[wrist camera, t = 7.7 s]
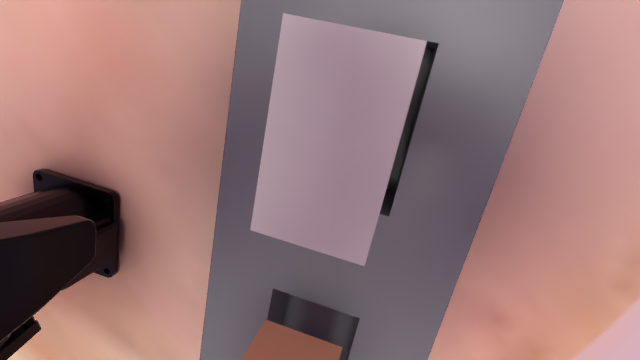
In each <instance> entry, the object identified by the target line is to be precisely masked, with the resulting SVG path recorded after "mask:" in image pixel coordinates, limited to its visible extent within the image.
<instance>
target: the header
mask: <svg viewBox="0 0 640 360" xmlns="http://www.w3.org/2000/svg"><path fill="white" fill-rule="evenodd" d="M563 1H564V0H241V8H240V16H239V25H238V33H237V42H236V51H235V59H234V68H233V77H232V85H231V94H230V102H229V111H228V120H227V128H226V137H225V146H224V154H223V163H222V171H221V180H220V189H219V197H218V206H217V215H216V223H215V232H214V240H213V249H212V258H211V266H210V275H209V284H208V292H207V301H206V309H205V318H204V327H203V335H202V344H201V353H200V360H241V358H242V357H243V355H244V354H245V352H246V350H247V349H248V347H249V346H250V344H251V342H252V341H253V339H254V338H255V336H256V334H257V333H258V331H259V330H260V328H261V326H262V325H263V323H264V322H265V320H269V321H271V322H274V323H277V324H280V325H282V326H285V327H288V328H291V329H293V330H296V331H299V332H302V333H304V334H307V335H310V336H313V337H315V338H318V339H321V340H324V341H327V342H329V343H332V344H335V345H338V346H340V347H342V351H341V354H340V358H339V360H427V359H428V357H429V354H430V351H431V349H432V346H433V343H434V341H435V338H436V335H437V333H438V330H439V328H440V325H441V322H442V320H443V317H444V314H445V312H446V309H447V307H448V304H449V301H450V299H451V296H452V293H453V291H454V288H455V285H456V283H457V280H458V278H459V275H460V272H461V270H462V267H463V264H464V262H465V259H466V257H467V254H468V251H469V249H470V246H471V243H472V241H473V238H474V235H475V233H476V230H477V228H478V225H479V222H480V220H481V217H482V214H483V212H484V209H485V207H486V204H487V201H488V199H489V196H490V193H491V191H492V188H493V185H494V183H495V180H496V178H497V175H498V172H499V170H500V167H501V164H502V162H503V159H504V156H505V154H506V151H507V149H508V146H509V143H510V141H511V138H512V135H513V133H514V130H515V128H516V125H517V122H518V120H519V117H520V114H521V112H522V109H523V106H524V104H525V101H526V99H527V96H528V93H529V91H530V88H531V85H532V83H533V80H534V78H535V75H536V72H537V70H538V67H539V64H540V62H541V59H542V56H543V54H544V51H545V49H546V46H547V43H548V41H549V38H550V35H551V33H552V30H553V28H554V25H555V22H556V20H557V17H558V14H559V12H560V9H561V6H562V4H563ZM283 13H285V14H291V15H296V16H301V17H306V18H311V19H316V20H321V21H327V22H332V23H337V24H342V25H347V26H352V27H357V28H363V29H368V30H373V31H378V32H383V33H388V34H393V35H399V36H404V37H409V38H414V39H419V40H424V41H427V43H426V48H425V52H424V56H423V60H422V64H421V67H420V71H419V74H418V78H417V82H416V85H415V89H414V92H413V96H412V100H411V103H410V107H409V110H408V114H407V118H406V121H405V125H404V128H403V132H402V136H401V139H400V143H399V146H398V150H397V154H396V157H395V161H394V164H393V168H392V172H391V175H390V179H389V182H388V186H387V189H386V193H385V196H384V200H383V203H382V207H381V210H380V214H379V217H378V221H377V224H376V228H375V231H374V235H373V238H372V242H371V245H370V249H369V252H368V256H367V259H366V263H365V266H362V265H359V264H355V263H352V262H349V261H346V260H343V259H340V258H336V257H333V256H330V255H327V254H324V253H321V252H318V251H314V250H311V249H308V248H305V247H302V246H299V245H295V244H292V243H289V242H286V241H283V240H280V239H276V238H273V237H270V236H267V235H264V234H261V233H258V232H254V231H251V230H250V228H251V222H252V215H253V208H254V202H255V195H256V189H257V182H258V176H259V169H260V162H261V156H262V149H263V143H264V136H265V129H266V123H267V116H268V110H269V103H270V96H271V90H272V83H273V77H274V70H275V64H276V57H277V50H278V44H279V37H280V31H281V24H282V17H283Z"/></svg>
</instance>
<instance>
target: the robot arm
mask: <svg viewBox="0 0 640 360" xmlns="http://www.w3.org/2000/svg"><path fill="white" fill-rule="evenodd" d="M33 183H34V192H33V193H30V194H27V195H23V196H20V197H17V198H14V199H10V200H7V201H4V202H1V203H0V360H7V359H8V358H9V357H11V356H12V355H13V354H14V353H15V352H16V351H17V350H18V349H19V348H21V347H22V346H23V345H24V344H25V343H26V342H27V341H28V340H30V339H31V338H32V337H33V336H34V335H35V334H36V333H37V332H39V331H40V330H41V327H40V325H39V323H38V321H37V320H35V319H34V317H33V315H34V314H36V313H37V312H38V311H39V310H40V309H41V308H42V307H43V306H44V305H46V304H47V303H48V302H49V301H50V300H51V299H52V298H53V297H54V296H55V295H56V294H57V293H58V292H60V291H61V290H65V289H66V288H68V287H70V286H71V285H73V284H75V283H76V282H78V281H79V280H81V279H83V278H84V277H86V276H88V275H89V274H91V273H93V272H94V273H97V274H99V275H102V276H105V277H108V278H109V277H112V276H113V275H115V274H116V273H117V261H118V207H119V199H118V196H117V194H116V193H115V192H114V191H112V190H108V189H105V188H102V187H99V186H96V185H93V184H90V183H87V182H83V181H80V180H77V179H74V178H71V177H68V176H65V175H61V174H58V173H55V172H52V171H49V170H46V169H39V170H36V171H34V173H33ZM109 198H110V199H109Z"/></svg>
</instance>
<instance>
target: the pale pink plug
mask: <svg viewBox="0 0 640 360" xmlns="http://www.w3.org/2000/svg"><path fill="white" fill-rule="evenodd" d="M426 43H427V41H424V40H419V39H414V38H409V37H404V36H399V35H393V34H388V33H383V32H378V31H373V30H368V29H363V28H357V27H352V26H347V25H342V24H337V23H332V22H327V21H321V20H316V19H311V18H306V17H301V16H296V15H291V14H285V13H283V17H282V24H281V31H280V37H279V44H278V50H277V57H276V64H275V70H274V77H273V83H272V90H271V96H270V103H269V110H268V116H267V123H266V129H265V136H264V143H263V149H262V156H261V162H260V169H259V176H258V182H257V189H256V195H255V202H254V208H253V215H252V222H251V228H250V230H251V231H254V232H258V233H261V234H264V235H267V236H270V237H273V238H276V239H280V240H283V241H286V242H289V243H292V244H295V245H299V246H302V247H305V248H308V249H311V250H314V251H318V252H321V253H324V254H327V255H330V256H333V257H336V258H340V259H343V260H346V261H349V262H352V263H355V264H359V265H362V266H365V263H366V259H367V256H368V252H369V249H370V245H371V242H372V238H373V235H374V231H375V228H376V224H377V221H378V217H379V214H380V210H381V207H382V203H383V200H384V196H385V193H386V189H387V186H388V182H389V179H390V175H391V172H392V168H393V164H394V161H395V157H396V154H397V150H398V146H399V143H400V139H401V136H402V132H403V128H404V125H405V121H406V118H407V114H408V110H409V107H410V103H411V100H412V96H413V92H414V89H415V85H416V82H417V78H418V74H419V71H420V67H421V64H422V60H423V56H424V52H425V48H426Z"/></svg>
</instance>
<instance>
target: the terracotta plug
mask: <svg viewBox="0 0 640 360" xmlns="http://www.w3.org/2000/svg"><path fill="white" fill-rule="evenodd" d="M341 351H342V347H340V346H338V345H335V344H332V343H329V342H327V341H324V340H321V339H318V338H315V337H313V336H310V335H307V334H304V333H302V332H299V331H296V330H293V329H291V328H288V327H285V326H282V325H280V324H277V323H274V322H271V321H269V320H265V322H264V323H263V325H262V326H261V328H260V330H259V331H258V333H257V334H256V336H255V338H254V339H253V341H252V342H251V344H250V346H249V347H248V349H247V350H246V352H245V354H244V355H243V357H242V358H241V360H339V358H340V354H341Z"/></svg>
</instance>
